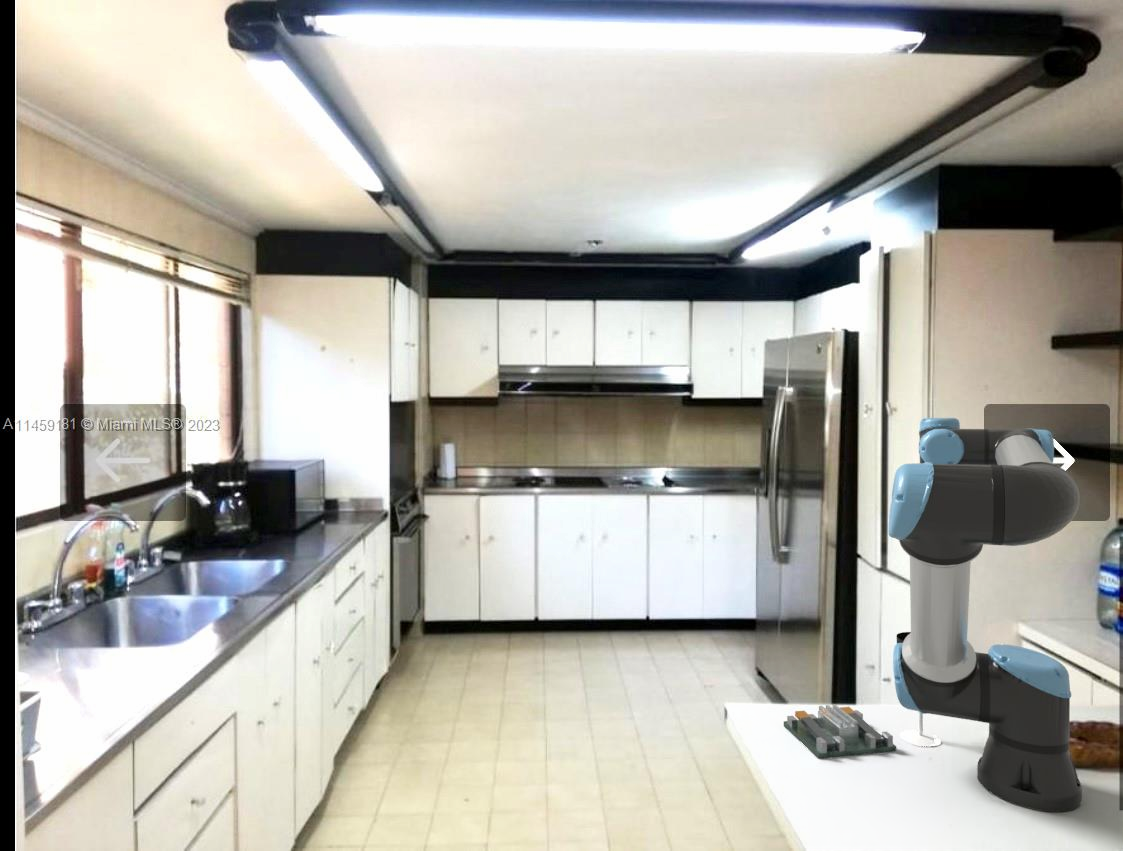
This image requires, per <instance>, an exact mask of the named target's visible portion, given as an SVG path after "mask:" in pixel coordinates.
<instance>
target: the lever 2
mask: <svg viewBox="0 0 1123 851" xmlns="http://www.w3.org/2000/svg"><path fill="white" fill-rule="evenodd" d="M839 708H841V709H842V710H843V711H845V712H846V713H847V714H848V715H850V716H851V717H852V718H854V719H855V720H856V721H857V726H858V730H859V731H860V732H861V733H862V734H863V735H865V733H870V734H871V735H873V736H874V737H875V738H876V744H883V741H884V738H882V737H881V736H880V735H879V734H880V733H879V732H878V731H877V730H876V729H874V728H873V727H872V726H871V725H869V723H868V722H866V721H865V720H864V718H863V719H862V718H861V717H860V716H859V715H858V714H856V713H855V712H854V709H852V707H850V706H843V707H842V706H841V707H839ZM876 731H877V732H878V733H879V734H878V733H877V732H876Z"/></svg>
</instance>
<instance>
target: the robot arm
mask: <svg viewBox="0 0 1123 851" xmlns="http://www.w3.org/2000/svg"><path fill="white" fill-rule="evenodd" d="M960 424H961V423H960V421H959V419H958V418H956V417H924V418H922V419H921V420H920V422H919V430H918V436H919V442H918V454H919V463H904V464H902V465H900V466H899V467H898V468H897V469H896V471H895V473H894V478H893V483H892V489H891V501H890V507H889V508H890V509H889V515H888V532H887V533H888V536H889V537H891V538H892V539H895V540H898V541H899V545H900V546H901V548H902V550H903V551H904V552H905V553H906V555H908V556H909V585H910V586H909V587H910V590H909V594H910V596H909V597H910V598H909V599H910V602H909V603H910V604H909V605H910V632H911V633H910V634H909V635H908V636H907V637H906V638H905V640H904V642H902V643H898V644H897V643H896V644H895V645H894V648H893V652H892V653H893V655H892V658H893V659H892V660H893V661H892V662H893V663H892V666H893V667H892V668H893V676H894V687H895V688H894V689H895V692H896V697H897V699H898V702H899V704H900V705H901V706H902V707H903V708H905V709H907V710H910V711H915V712H918V711H919V712H921V713H923V715H924V714H925V715H926V714H929V715H936V716H942V717H947V718H948V717H949V718H955V719H961V720H962V719H963V720H967V721H974V722H980V723H986V724H988V737H987V739H986V742H985V744H984V748H983V753H982V756H980V757H979V759H978V762H977V765H976V767H977V768H976V770H977V772H976V773H977V774H976V777H977V780H978V782H979V784H980V785H981V786H982V787H983V788H984V789H985V790H987V791H988V792H989V793H991V794H993V795H995V797H996V796H997V797H998V798H1000V799H1002V800H1005V801H1007V802H1009V803H1012V804H1014V805H1017V806H1021V807H1024V808H1027V809H1033V810H1038V811H1043V812H1056V813H1057V812H1068V811H1073V810H1075V809H1078V808H1079V807H1080V806H1081V805H1082V803H1083V787H1082V784H1081V781H1080V779H1079V778H1078V772H1077V770H1076V766H1075V764H1074V761H1073V758H1072V756H1071V752H1070V751H1071V750H1070V738H1071V737H1070V736H1071V735H1070V714H1071V713H1070V709H1071V708H1070V700H1071V699H1070V698H1071V697H1072V691H1071V688H1070V687H1071V686H1070V685H1071V684H1070V675H1069V671H1068V670H1067V668H1066V666H1064V664H1062V663H1061V662H1060V661H1058V660H1057V659H1055V658H1053V657H1051V656H1049V655H1047V654H1045V653H1042V652H1039V651H1037V650H1034V649H1030V648H1026V647H1022V646H1018V645H1013V644H1012V645H1011V644H1005V643H1004V644H993V645H991V646H990V647H989V648H988V650H987V652H988V653H984V652H978V651H975V648H974V647H973V645H972V644H971V643H970V642H969V640H968V627H969V626H968V624H969V606H970V604H969V603H970V587H971V586H970V582H971V563H972V561H973V560H974V559H976V558H977V557H978V556H979V555H980V554H981V552H982V550H983V546H984V545H987V546H988V545H989V546H1007V547H1017V546H1025V545H1032V544H1035V543H1037V542H1040V541H1043V540H1045V539H1049V538H1051V537H1052V536H1054V535H1056V534H1057V533H1059V532H1061V531H1062V530H1063V529H1064V528H1066V527H1067V526H1068V525H1069V524H1070V523H1071V522H1072V521H1073V519H1074V517H1075V516H1076V515H1077V512H1078V510H1079V507H1080V501H1081V500H1080V496H1081V495H1080V490H1079V488H1078V485H1077V484H1076V482H1075V480H1074V479H1073V477H1072V476H1071V475H1070V473H1069V472H1067V471H1066V470H1065V469H1064V468H1062V467H1060V466H1059V465H1056V464H1055V463H1054V457H1055V456H1054V455H1055V444H1054V439H1053V438H1054V437H1053V434H1052V432H1051V431H1049V430H1047V429H1035V428H1029V427H1027V428H1015V429H1014V428H1012V429H1011V428H1010V429H1009V428H1007V429H1006V428H1005V429H1004V428H1003V429H1002V428H1000V429H999V428H997V429H996V428H995V429H993V428H991V429H989V428H988V429H987V428H960V427H961V426H960ZM1081 802H1082V803H1081ZM1080 804H1081V805H1080ZM1077 807H1078V808H1077Z"/></svg>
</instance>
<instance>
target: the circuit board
mask: <svg viewBox="0 0 1123 851" xmlns="http://www.w3.org/2000/svg"><path fill="white" fill-rule="evenodd" d="M853 711H854V712H855V713H856V714H858V715H859V716H860V717H861V718H862V719H863V720H864V714H863V713H862V712H861V711H859V710H854V709H853ZM807 714H808V715H809V716H810V717H811V718H812V719H813V720H814V721H815V722H816V723H817V724H818V725H819V726H820V727H821V728H822V730H823V731H824V732H825V733H826V734H827V735H828V736H829V737H830V738H831V739H832V740H833V741H834V742H835V748H830V749H827V742H826V741H825V740H824V739H823V738H821V737H820V738H815V737H814V736H813V735H812V734H811V733H810V732H809V731H808V729H807V728H806V727H805V726H804V725H803V724H802V723H801V722H800V721H799V720H798V719H797V717H796V716H795V715H787V716H786V719H787V720H785V721H783V727H784V728H785V729H786V730H787V731H788V732H789V733H791V734H792V736H794V737H795V739H797V740H798V741H799V742H800V741H801V742H802V743H803V744H804V745H805V746H806V747H807V748H808V751H809V752H810V753H812V754H813V756H815V757H816V758H817V759H818V760H820V758H821V759H829V758H830V757H832V758H841V757H851V756H861V755H870V754H871V755H872V754H881V753H892V752H897V745H896V744H894V736H893V735H892V734H890V733H889V732H888V731H881V733H880V732H878V731H877V730H875V731H876V732H877V733H878V734H879V735H880V736H881V737H882V738H884V741H883V744H876V738H875V737H874V736H873V735H871V734H870V733H865V735H863V734H862V733H861V732H860V731H859V730H858V726H857V721H856V720H855V719H854V718H852V717H851V716H850V715H848V714H847V713H846V712H845V711H843V710H842V709H841V708H840V707H839V706H838V705H836V704H832V706H830V705H829V704H827V705H825V707H824V706H823V705H818V710H817V715H815V714H814V713H807ZM801 742H800V743H801ZM802 743H801V744H802ZM803 744H802V745H803ZM804 745H803V746H804ZM805 746H804V747H805ZM806 747H805V748H806ZM807 748H806V749H807Z"/></svg>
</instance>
